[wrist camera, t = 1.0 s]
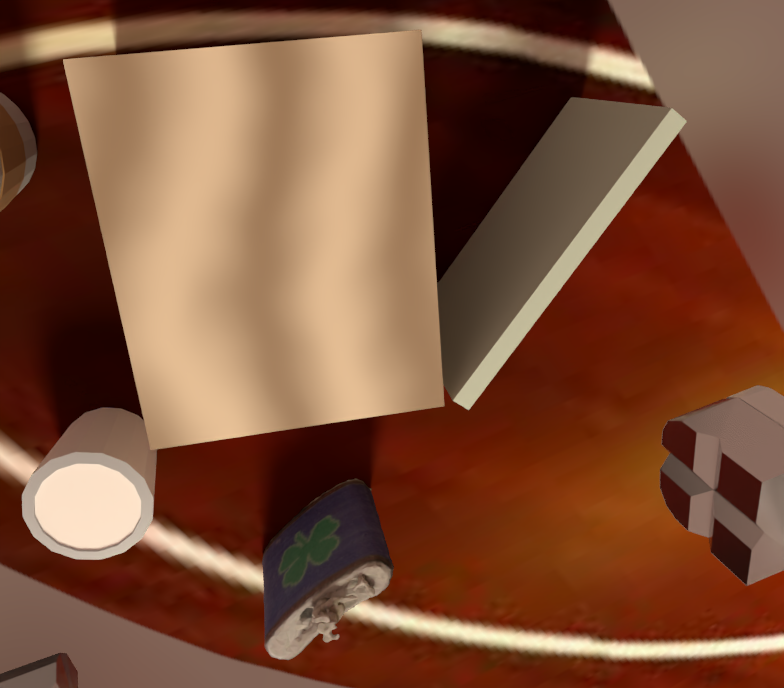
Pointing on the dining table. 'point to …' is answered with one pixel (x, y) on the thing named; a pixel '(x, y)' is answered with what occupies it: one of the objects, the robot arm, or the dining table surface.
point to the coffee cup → (14, 151)
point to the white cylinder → (94, 487)
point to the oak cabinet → (267, 230)
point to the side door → (542, 232)
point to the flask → (323, 567)
